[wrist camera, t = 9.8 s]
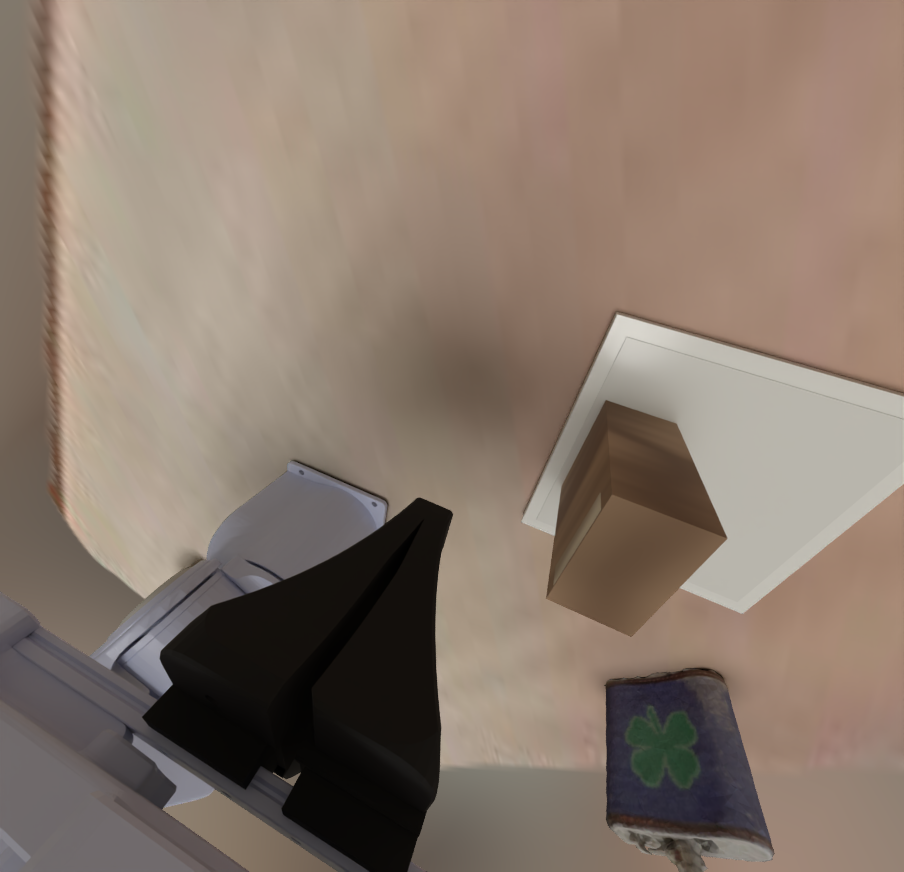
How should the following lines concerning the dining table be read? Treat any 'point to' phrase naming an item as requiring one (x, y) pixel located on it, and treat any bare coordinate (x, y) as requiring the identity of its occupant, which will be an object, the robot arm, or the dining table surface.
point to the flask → (681, 771)
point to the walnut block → (630, 521)
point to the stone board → (744, 447)
